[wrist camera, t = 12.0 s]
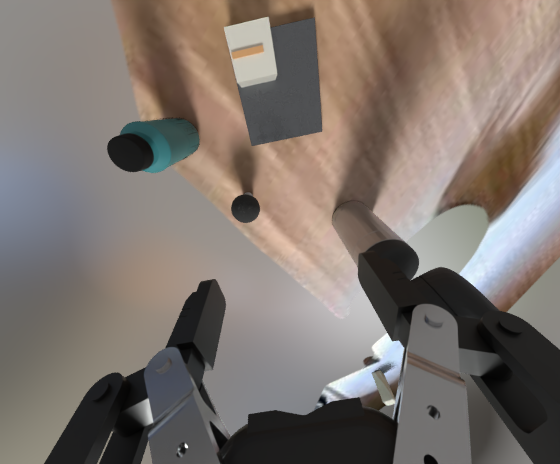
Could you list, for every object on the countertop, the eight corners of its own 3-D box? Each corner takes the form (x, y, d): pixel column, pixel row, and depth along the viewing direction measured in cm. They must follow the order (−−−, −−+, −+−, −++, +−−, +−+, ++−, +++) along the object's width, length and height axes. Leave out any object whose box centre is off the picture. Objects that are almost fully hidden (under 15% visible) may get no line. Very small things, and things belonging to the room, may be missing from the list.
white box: (268, 33, 32) (268, 15, 26) (275, 79, 35) (277, 73, 29) (230, 41, 32) (223, 26, 26) (241, 87, 35) (236, 82, 29)
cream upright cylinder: (383, 373, 94) (397, 403, 84) (375, 377, 95) (387, 406, 85) (379, 369, 92) (393, 399, 82) (371, 372, 93) (383, 402, 83)
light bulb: (231, 197, 46) (223, 216, 38) (246, 179, 44) (241, 194, 36) (250, 211, 48) (246, 233, 40) (265, 195, 47) (265, 213, 38)
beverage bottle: (193, 112, 38) (132, 111, 20) (208, 149, 41) (167, 175, 24) (161, 123, 38) (75, 130, 21) (179, 158, 41) (117, 190, 24)
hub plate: (312, 21, 32) (321, 3, 27) (320, 130, 40) (328, 133, 35) (227, 40, 33) (220, 27, 28) (252, 145, 41) (250, 149, 36)
